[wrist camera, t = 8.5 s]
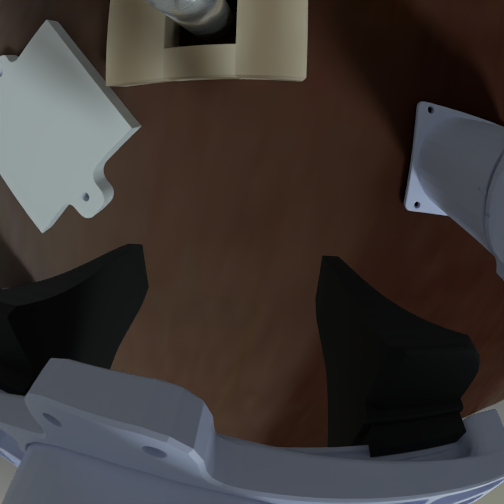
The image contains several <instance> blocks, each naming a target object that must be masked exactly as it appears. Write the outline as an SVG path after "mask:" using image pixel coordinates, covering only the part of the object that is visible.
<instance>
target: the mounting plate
mask: <svg viewBox="0 0 504 504" xmlns="http://www.w3.org/2000/svg"><path fill="white" fill-rule="evenodd" d="M140 127H141V125H140V124H139V123H138V122H137V120H136V119H135V118H134V117H133V115H132V114H131V113H130V112H129V110H128V109H127V108H126V107H125V105H124V104H123V103H122V102H121V100H120V99H119V98H118V97H117V95H116V94H115V93H114V92H113V90H112V89H111V88H110V87H109V86H106V82H105V80H104V79H103V78H102V77H101V75H100V74H99V73H98V72H97V70H96V69H95V68H94V67H93V65H92V64H91V63H90V62H89V60H88V59H87V58H86V57H85V55H84V54H83V53H82V51H81V50H80V49H79V48H78V46H77V45H76V44H75V43H74V41H73V40H72V39H71V38H70V36H69V35H68V34H67V33H66V31H65V30H64V29H63V27H62V26H61V25H60V24H59V22H57V21H52V20H46V21H45V22H44V23H43V25H42V26H41V27H40V28H39V30H38V31H37V32H36V34H35V35H34V36H33V38H32V39H31V40H30V42H29V43H28V44H27V46H26V47H25V49H24V50H23V52H22V53H21V55H20V56H19V57H18V56H16V55H2V56H1V57H0V174H1V176H2V177H3V179H4V181H5V182H6V184H7V185H8V187H9V188H10V190H11V191H12V193H13V194H14V195H15V197H16V198H17V200H18V201H19V203H20V204H21V205H22V207H23V208H24V210H25V211H26V212H27V214H28V215H29V216H30V218H31V219H32V221H33V222H34V223H35V225H36V226H37V227H38V228H39V230H40V231H41V232H42V233H43V232H45V231H46V230H48V229H49V228H50V227H52V226H53V224H54V223H55V222H56V220H57V219H58V218H59V216H60V215H61V214H62V213H63V211H64V210H65V209H66V208H67V206H68V205H69V204H70V205H72V206H74V207H75V208H76V210H77V211H78V212H79V213H80V214H81V215H82V216H83V217H86V218H91V217H93V216H94V215H95V214H97V213H98V212H99V211H101V210H102V209H103V208H104V207H105V206H106V205H107V204H108V203H109V202H110V201H111V200H112V198H113V194H114V193H113V188H112V186H111V184H110V183H109V182H108V181H107V179H106V178H105V176H104V172H103V168H104V164H105V163H106V161H107V160H108V159H109V158H110V157H111V156H112V155H113V154H114V153H115V152H116V151H117V150H118V149H119V148H120V147H121V146H122V145H123V144H124V143H125V142H126V141H127V140H128V139H129V138H130V137H131V136H132V135H133V134H134V133H135V132H136V131H137V130H138V129H139V128H140Z"/></svg>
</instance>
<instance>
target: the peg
mask: <svg viewBox="0 0 504 504" xmlns="http://www.w3.org/2000/svg"><path fill="white" fill-rule="evenodd" d="M146 2H147V3H148V4H150V5H151V6H153V7H154V8H156V9H158V10H159V11H161V12H162V13H164V14H165V15H166V16H168V17H169V18H171V19H172V20H174V21H175V22H177V23H178V24H179V25H181V26H182V27H184V28H185V29H186V30H188V31H189V32H191V33H192V34H193V35H195V36H196V37H197V38H199V39H202V40H208V41H211V40H216V39H219V38H222V37H223V36H225V35H226V34H227V33H228V32H229V31H230V30H231V28H232V26H233V23H234V15H233V13H232V11H231V9H230V7H229V5H228V3H227V2H226V0H146Z"/></svg>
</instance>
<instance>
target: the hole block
mask: <svg viewBox="0 0 504 504" xmlns="http://www.w3.org/2000/svg"><path fill="white" fill-rule="evenodd" d="M307 32H308V0H238V2H237V26H236V44H213V45H196V46H184V47H179V40H180V25H179V24H178V23H177V22H175V21H174V20H172V19H171V18H169V17H168V16H166V15H165V14H164V13H162V12H161V11H159V10H158V9H156V8H154V7H153V6H151V5H150V4H148V3H147V2H146V0H110V9H109V20H108V33H107V51H106V86H134V85H142V84H151V83H161V82H172V81H186V80H206V79H264V80H284V81H299V82H302V81H303V80H304V79H305V78H306V66H307Z"/></svg>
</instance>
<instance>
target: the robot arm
mask: <svg viewBox="0 0 504 504" xmlns="http://www.w3.org/2000/svg"><path fill="white" fill-rule="evenodd" d="M428 107H431V109H432V111H431V113H429V112H428ZM416 202H418V206H416V207H414V204H415V203H416ZM404 206H405V208H406V209H407V210H409V211H416V212H424V213H432V214H440V215H447V216H450V217H451V218H452V219H453V220H454V221H456V222H457V223H458V224H459V225H460V226H462V227H463V228H464V229H465V230H466V231H467V232H468V233H470V234H471V235H472V236H473V237H474V238H475V239H476V240H478V241H479V242H480V243H481V244H482V245H483V246H484V247H485V248H486V249H487V250H488V251H489V252H491V253H492V254H493V255H494V256H495V258H496V262H497V270H496V272H497V274H498V275H499V276H500V277H501V278H502V279H503V280H504V127H503V126H500V125H497V124H495V123H492V122H489V121H487V120H484V119H481V118H478V117H475V116H472V115H469V114H466V113H463V112H460V111H457V110H453V109H450V108H447V107H443V106H440V105H436V104H432V103H428V102H422V101H421V102H419V103H418V104H417V108H416V120H415V130H414V139H413V147H412V155H411V162H410V169H409V175H408V181H407V187H406V193H405V199H404ZM148 287H149V286H148V280H147V274H146V267H145V261H144V254H143V247H142V245H140V244H127V245H124V246H121V247H119V248H117V249H115V250H112V251H110V252H108V253H106V254H104V255H102V256H100V257H98V258H96V259H94V260H92V261H90V262H88V263H86V264H83V265H81V266H79V267H77V268H75V269H73V270H70V271H68V272H65V273H63V274H60V275H58V276H55V277H52V278H49V279H46V280H42V281H39V282H35V283H32V284H28V285H23V286H19V287H13V288H7V289H0V455H1V456H2V457H3V458H5V459H6V460H8V461H9V462H11V463H12V464H14V465H15V466H17V467H18V469H17V471H16V473H15V475H14V477H13V480H12V482H11V484H10V486H9V488H8V490H7V493H6V495H5V498H4V500H3V502H2V504H470V503H473V502H475V501H476V500H478V499H479V498H481V497H482V496H484V495H485V494H487V493H488V492H490V491H491V490H493V489H494V488H495V487H497V486H498V485H500V484H501V483H502V482H504V427H503V424H502V422H501V420H500V418H499V415H498V413H497V411H496V409H492V410H489V411H485V412H481V413H477V414H473V415H471V416H468V417H467V418H465V419H464V420H463V421H462V418H461V415H460V413H459V412H461V411H462V410H463V404H462V402H461V399H460V398H461V397H462V395H463V394H464V393H465V391H466V390H467V388H468V387H469V385H470V384H471V382H472V381H473V379H474V378H475V376H476V374H477V372H478V370H479V366H480V362H481V361H480V355H479V353H478V351H477V350H476V348H475V346H474V344H473V343H472V341H471V339H470V338H469V336H468V335H465V334H462V333H459V332H456V331H452V330H449V329H446V328H443V327H441V326H438V325H436V324H433V323H431V322H428V321H426V320H424V319H422V318H420V317H418V316H416V315H414V314H412V313H410V312H408V311H406V310H405V309H403V308H401V307H399V306H398V305H396V304H395V303H393V302H392V301H390V300H389V299H387V298H386V297H384V296H383V295H382V294H380V293H379V292H378V291H376V290H375V289H374V288H373V287H371V286H370V285H369V284H368V283H367V282H366V281H364V280H363V279H362V278H361V277H360V276H359V275H358V274H357V273H356V272H354V271H353V270H352V269H351V268H350V267H349V266H348V265H347V264H346V263H345V262H344V261H343V260H341V259H340V258H339V257H336V256H322V262H321V269H320V275H319V281H318V287H317V293H316V299H315V300H316V316H317V324H318V329H319V334H320V339H321V345H322V350H323V355H324V360H325V366H326V373H327V391H328V447H325V448H285V447H274V446H269V445H264V444H259V443H255V442H250V441H246V440H242V439H238V438H234V437H230V436H226V435H223V434H219V433H216V432H215V429H214V423H213V416H212V414H211V412H210V411H209V409H208V407H207V406H206V404H205V402H204V401H203V400H202V399H200V398H199V397H197V396H196V395H194V394H193V393H191V392H190V391H188V390H187V389H185V388H184V387H182V386H178V385H175V384H172V383H169V382H166V381H163V380H160V379H154V378H149V377H143V376H138V375H133V374H128V373H124V372H119V371H114V370H110V367H111V365H112V362H113V359H114V357H115V354H116V352H117V349H118V347H119V345H120V343H121V341H122V340H123V338H124V336H125V334H126V332H127V331H128V329H129V327H130V325H131V324H132V322H133V320H134V318H135V316H136V315H137V313H138V311H139V309H140V307H141V305H142V303H143V300H144V298H145V295H146V293H147V290H148Z"/></svg>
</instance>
